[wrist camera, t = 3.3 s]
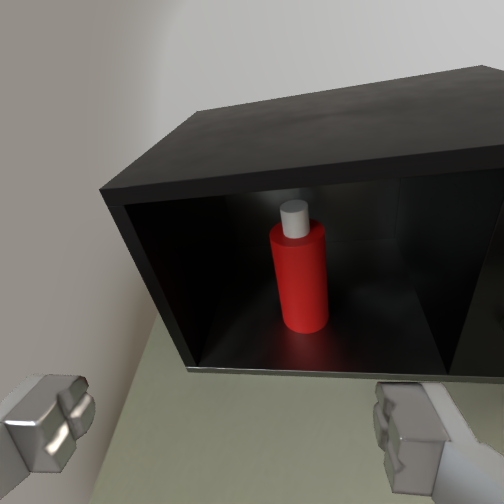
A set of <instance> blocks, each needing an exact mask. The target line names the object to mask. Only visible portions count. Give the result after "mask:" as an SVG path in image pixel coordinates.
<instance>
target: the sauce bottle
mask: <svg viewBox="0 0 504 504" xmlns="http://www.w3.org/2000/svg"><path fill="white" fill-rule="evenodd" d="M280 213H281V220H282V222H280V223H278V224H276V225H275V226H274V227H273V228H272V229H271V231H270V234H269V236H270V242H271V248H272V254H273V260H274V266H275V272H276V278H277V284H278V290H279V296H280V302H281V308H282V313H283V319H284V322H285V324H286V326H287V327H288V328H289V329H291V330H293V331H295V332H298V333H303V334H309V333H314V332H317V331H319V330H320V329H322V328H323V327H324V326H325V325H326V323H327V322H328V318H329V311H328V290H327V269H326V248H325V229H324V227H323V225H322V224H321V223H320V222H318V221H316V220H314V219H310V218H309V212H308V204H307V202H305V201H303V200H290V201H287V202H285V203H283V204H282V205H281V206H280Z"/></svg>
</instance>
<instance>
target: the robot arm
mask: <svg viewBox="0 0 504 504" xmlns="http://www.w3.org/2000/svg"><path fill="white" fill-rule="evenodd" d="M88 387H89V385H88V383H87V380H86V378H85V377H82V376H72V375H70V376H69V375H52V374H49V375H44V374H33V375H30V376H28V377H26V378H25V379H24V380H23V381H22V382H21V383H20V384H19V385H18V386H17V387H16V388H15V389H14V390H13V391H12V392H11V393H10V394H9V395H8V396H7V397H6V398H5V399H4V400H3V401H2V402H1V403H0V500H1V499H2V498H3V497H4V496H5V495H7V494H8V493H9V492H10V491H11V490H13V489H14V488H15V487H16V486H17V485H18V484H19V483H21V482H22V481H23V480H24V479H25V478H27V477H28V476H29V475H30V472H37V473H61V472H62V470H63V469H64V467H65V466H66V464H67V462H68V461H69V459H70V458H71V456H72V455H73V453H74V451H75V450H76V440H77V439H79V438H80V437H81V436H83V435H84V434H85V433H87V431H88V429H89V428H90V426H91V424H92V422H93V419H94V415H95V402H94V399H93V397H92V396H91V395H90V394H88V393H87V392H86V391H87V388H88ZM375 394H376V397H377V400H378V402H377V403H376V404H375V405H374V410H373V421H374V429H375V434H376V438H377V442H378V446H379V447H380V448H381V449H382V450H383V451H384V452H385V457H384V467H385V470H386V473H387V477H388V480H389V483H390V487H391V490H392V493H397V494H409V495H420V496H431V497H432V498H431V499H432V500H433V501H434V502H435V503H436V504H504V456H503V455H501V454H500V453H499V452H497V451H496V450H495V449H493V448H492V447H491V446H489V445H488V444H487V443H479V442H478V440H477V439H476V437H475V435H474V434H473V432H472V430H471V429H470V427H469V425H468V424H467V422H466V421H465V419H464V417H463V416H462V414H461V412H460V411H459V409H458V407H457V406H456V404H455V403H454V401H453V399H452V398H451V396H450V394H449V393H448V391H447V389H446V388H445V386H444V385H443V384H442V383H440V382H377V385H376V391H375Z"/></svg>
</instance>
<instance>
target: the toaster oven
mask: <svg viewBox="0 0 504 504" xmlns="http://www.w3.org/2000/svg"><path fill="white" fill-rule="evenodd" d="M99 191H100V193H101V195H102V197H103V199H104V201H105V203H106V205H107V206H108V209H109V211H110V213H111V215H112V217H113V219H114V221H115V223H116V225H117V227H118V229H119V231H120V233H121V236H122V238H123V239H124V242H125V244H126V246H127V248H128V250H129V252H130V254H131V256H132V258H133V260H134V262H135V264H136V266H137V268H138V270H139V272H140V274H141V277H142V278H143V281H144V283H145V285H146V287H147V289H148V291H149V293H150V295H151V297H152V299H153V301H154V303H155V305H156V307H157V309H158V311H159V313H160V315H161V317H162V319H163V322H164V324H165V326H166V328H167V330H168V332H169V334H170V336H171V338H172V340H173V342H174V344H175V346H176V348H177V350H178V352H179V354H180V356H181V358H182V360H183V362H184V364H185V366H186V369H187V371H188V372H199V373H226V374H254V375H281V376H308V377H335V378H363V379H390V380H417V381H444V382H472V383H499V384H504V71H502V70H499V69H495V68H491V67H487V66H483V65H480V66H474V67H468V68H461V69H455V70H450V71H443V72H437V73H431V74H425V75H419V76H412V77H406V78H400V79H394V80H388V81H381V82H375V83H369V84H363V85H357V86H351V87H345V88H339V89H332V90H326V91H320V92H314V93H308V94H301V95H295V96H289V97H283V98H277V99H271V100H265V101H258V102H253V103H246V104H240V105H234V106H228V107H222V108H216V109H210V110H203V111H197V112H196V113H194V114H193V115H192V116H191V117H189V118H188V119H187V120H186V121H184V122H183V123H182V124H181V125H179V126H178V127H177V128H176V129H175V130H173V131H172V132H171V133H169V134H168V135H167V136H166V137H164V138H163V139H162V140H160V141H159V142H158V143H157V144H155V145H154V146H153V147H152V148H150V149H149V150H148V151H147V152H145V153H144V154H143V155H142V156H141V157H139V158H138V159H137V160H135V161H134V162H133V163H132V164H131V165H129V166H128V167H127V168H125V169H124V170H123V171H122V172H120V173H119V174H118V175H117V176H115V177H114V178H113V179H112V180H111V181H109V182H108V183H107V184H105V185H104V186H103V187H102V188H100V189H99ZM290 200H303V201H305V202H307V204H308V212H309V218H310V219H314V220H316V221H318V222H320V223H321V224H322V225H323V227H324V229H325V248H326V269H327V290H328V311H329V318H328V322H327V323H326V325H325V326H324V327H323V328H322V329H320V330H319V331H317V332H314V333H309V334H303V333H298V332H295V331H293V330H291V329H289V328H288V327H287V326H286V324H285V322H284V319H283V313H282V308H281V302H280V296H279V290H278V284H277V278H276V272H275V266H274V260H273V254H272V248H271V242H270V236H269V234H270V231H271V229H272V228H273V227H274V226H275V225H276V224H278V223H280V222H282V220H281V213H280V206H281V205H282V204H283V203H285V202H287V201H290Z"/></svg>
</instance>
